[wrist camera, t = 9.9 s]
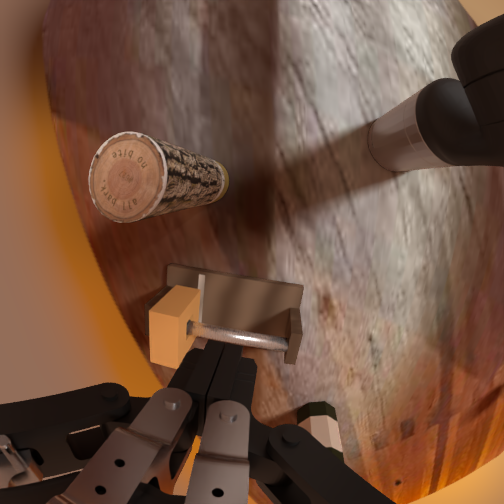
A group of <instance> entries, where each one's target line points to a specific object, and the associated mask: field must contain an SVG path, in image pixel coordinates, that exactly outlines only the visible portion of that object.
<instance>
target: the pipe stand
mask: <svg viewBox="0 0 504 504" xmlns="http://www.w3.org/2000/svg"><path fill="white" fill-rule="evenodd" d="M175 285H180V286H185V287H190V288H195V289H200V290H201V293H200V306H199V320H198V322H195V321H191V320H188V322H187V328H186V335H188V334H189V335H194V336H196V337H201V338H206V339H211V340H215V341H221V342H226V343H231V344H237V345H242V346H248V347H254V348H260V349H266V350H273V351H280V352H284V363H286V364H294V365H295V363H296V359H297V355H298V351H299V347H300V343H301V339H302V335H303V333H302V325H301V317H300V304H301V299H302V295H303V290H304V287H303V285H299V284H293V283H286V282H280V281H273V280H267V279H261V278H254V277H248V276H242V275H236V274H230V273H224V272H218V271H213V270H207V269H201V268H195V267H190V266H184V265H179V264H173V263H170V264H169V265H168V267H167V286H165V287H164V288H163V289H162V290H161V291H160V292H159V293H158V294H156V295H155V296H154V297H153V298H152V299H151V300H150V301H148V302H147V303H146V304H145V335H147V336H150V335H149V310H150V309H151V308H152V307H153V306H154V305H155V304H156V303H158V302H159V301H160V300H161V299H162V298H163V297H164V296H165V295H166V294H167V293H168V292H169V291H170V290H171V289H172V288H173V287H174V286H175Z"/></svg>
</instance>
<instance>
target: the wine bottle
mask: <svg viewBox="0 0 504 504" xmlns="http://www.w3.org/2000/svg"><path fill="white" fill-rule="evenodd" d="M297 425H298V426H300V427H302V428H304V429H306V430H307V431H308V432H309V433H310V434H311V435H312V436H314V437H315V438H316V439H317V440H318V441H319V442H320V443H321V444H322V445H324V446H325V447H326V448H327V449H328V450H329V451H330V452H332V453H333V454H334V455H335V456H336V457H337V458H338V459H340V460H341V461H342V462H343V463H344V458H343V452H342V446H341V440H340V434H339V429H338V423H337V417H336V412H335V408H334V407H333V406H331V405H329V404H328V403H326V402H325V401H323V402H309V403H308V404H306V405H305V406H303V407H302V408H301V409H299V410H298V414H297Z"/></svg>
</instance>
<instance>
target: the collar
mask: <svg viewBox="0 0 504 504" xmlns="http://www.w3.org/2000/svg"><path fill="white" fill-rule="evenodd" d="M200 293H201V290H200V289H195V288H190V287H185V286H180V285H175V286H174V287H173V288H172V289H171V290H170V291H169V292H168V293H167V294H166V295H165V296H164V297H163V298H162V299H161V300H160V301H159V302H158V303H156V304H155V305H154V306H153V307H152V308H151V309H150V310H149V335H150V359H151V362H153V363H157V364H160V365H164V366H167V367H171V368H175V369H178V368H179V365H180V364H181V362H182V360H183V358H184V357H185V355H186V353H187V352H188V350H189V349H190V347H191V345H192V343H193V342H194V340H195V338H196V336H194V335H189V334H188V335H186V328H187V322H188V320H191V321H195V322H198V320H199V306H200Z"/></svg>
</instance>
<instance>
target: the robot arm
mask: <svg viewBox="0 0 504 504" xmlns="http://www.w3.org/2000/svg"><path fill="white" fill-rule="evenodd" d="M451 60H452V63H453V66H454V68H455V71H456V73H457V76H458V78H459V80H460V81H459V80H456V79H452V78H442V79H438V80H435V81H433V82H432V83H430V84H429V85H427V86H426V87H424V88H423V89H421V90H420V91H418V92H417V93H415V94H414V95H412V96H411V97H409V98H408V99H406V100H405V101H403V102H402V103H400V104H399V105H398V106H396V107H395V108H393V109H392V110H390V111H389V112H387V113H386V114H384V115H383V116H382V117H380V118H379V119H377V120H376V121H375V122H374V123H373V124H372V126H371V128H370V130H369V134H368V145H369V149H370V152H371V154H372V156H373V157H374V159H375V160H376V161H377V162H378V163H379V164H380V165H381V166H382V167H384V168H386V169H388V170H390V171H394V172H401V171H410V170H420V169H429V168H440V167H450V166H476V165H485V166H502V167H504V14H503V15H500V16H498V17H496V18H494V19H492V20H490V21H488V22H486V23H484V24H482V25H480V26H478V27H476V28H475V29H473V30H471V31H470V32H468V33H467V34H466V35H464V36H463V37H462V38H461V39H460V40H459V41H458V42H457V43H456V45H455V46H454V48H453V50H452V53H451ZM242 353H243V346H241V345H236V344H230V343H225V342H220V341H214V340H210V339H209V340H208V342H207V344H206V346H205V348H204V350H203V349H198V348H194V349H192V350H191V351H189V352H187V353H186V355H185V357H184V358H183V360H182V362H181V364H180V365H179V368H178V369H177V371H176V372H175V374H174V376H173V378H172V379H171V381H170V383H169V385H168V386H167V388H163V389H160V390H158V391H157V392H155V393H154V395H153V396H152V397H149V398H142V397H130V396H129V393H128V391H127V389H126V388H125V387H123V386H122V385H120V384H116V383H102V384H98V385H94V386H90V387H86V388H82V389H78V390H74V391H69V392H65V393H61V394H56V395H51V396H46V397H41V398H36V399H31V400H25V401H20V402H13V403H7V404H0V504H248V485H249V477H250V478H253V479H255V480H256V482H257V484H258V486H259V487H260V488H261V489H262V490H263V492H264V493H265V494H266V495H267V496H268V497H269V499H270V500H271V501H272V502H273V503H274V504H396V503H395V502H393V501H392V500H390V499H389V498H388V497H386V496H385V495H384V494H382V493H381V492H380V491H378V490H377V489H376V488H374V487H373V486H372V485H370V484H369V483H368V482H367V481H365V480H364V479H363V478H362V477H360V476H359V475H358V474H357V473H355V472H354V471H353V470H352V469H350V468H349V467H348V466H347V465H346V464H344V463H343V462H342V461H341V460H340V459H338V458H337V457H336V456H335V455H334V454H333V453H332V452H330V451H329V450H328V449H327V448H326V447H325V446H324V445H322V444H321V443H320V442H319V441H318V440H317V439H316V438H315V437H314V436H312V435H311V434H310V433H309V432H308V431H307V430H306V429H304V428H302V427H300V426H298V425H293V424H283V425H279V426H277V427H275V428H271V427H268V426H266V425H264V424H262V423H260V422H259V421H257V420H256V419H255V418H254V416H253V415H252V412H251V404H252V398H253V391H254V385H255V379H256V373H257V365H256V363H255V361H254V359H250V358H244V357H242ZM97 425H100V427H97V428H93V429H89V430H86V431H82V432H79V433H74V434H69V433H71V432H74V431H78V430H82V429H86V428H90V427H93V426H97ZM196 435H198V436H202V438H201V443H200V447H199V452H198V453H197V454H196V456H195V459H194V464H193V468H192V473H191V477H190V481H189V486H188V491H187V495H186V496H178V495H173V489H174V485H175V483H176V481H177V479H178V477H179V475H180V473H181V471H182V469H183V467H184V465H185V463H186V460H187V458H188V456H189V454H190V452H191V450H192V444H193V442H194V439H195V436H196ZM82 468H83V470H82V471H78V472H74V473H70V474H67V475H63V476H59V477H56V478H52V479H48V480H43V481H42V479H43V478H45V477H50V476H54V475H59V474H63V473H67V472H71V471H75V470H79V469H82Z"/></svg>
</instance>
